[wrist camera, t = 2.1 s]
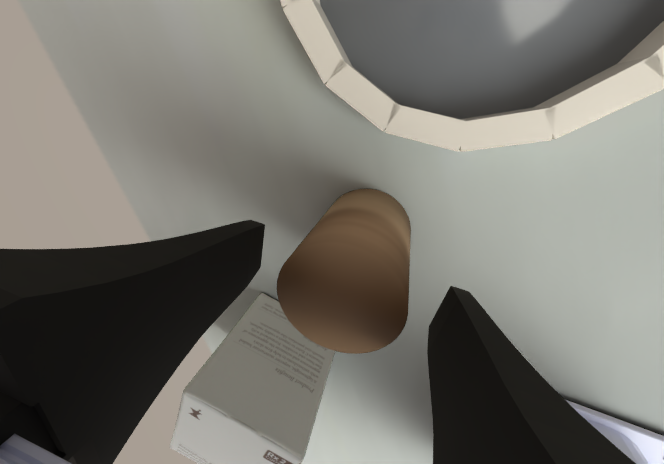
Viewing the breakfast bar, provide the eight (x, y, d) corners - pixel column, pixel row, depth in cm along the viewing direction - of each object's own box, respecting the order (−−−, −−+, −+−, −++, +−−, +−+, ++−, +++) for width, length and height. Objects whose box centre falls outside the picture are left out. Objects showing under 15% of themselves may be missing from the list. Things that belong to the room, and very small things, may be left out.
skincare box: (241, 343, 21) (165, 449, 14) (262, 289, 18) (177, 392, 12) (311, 381, 21) (264, 508, 14) (343, 333, 18) (303, 464, 11)
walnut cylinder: (394, 276, 15) (383, 370, 10) (319, 251, 15) (270, 326, 10) (423, 203, 13) (430, 271, 8) (335, 178, 13) (285, 224, 8)
